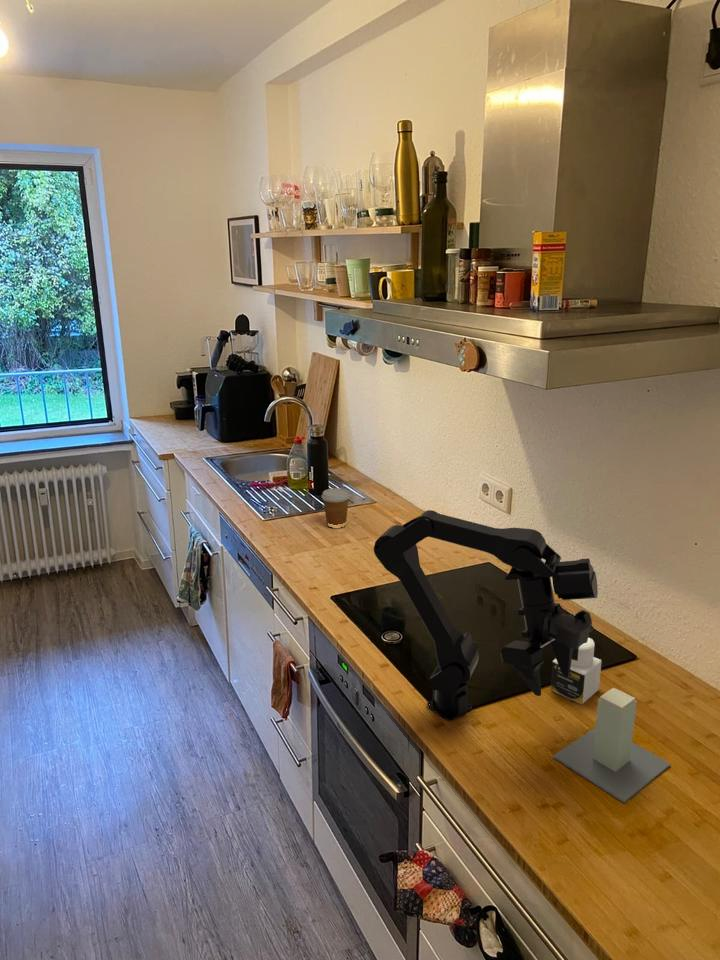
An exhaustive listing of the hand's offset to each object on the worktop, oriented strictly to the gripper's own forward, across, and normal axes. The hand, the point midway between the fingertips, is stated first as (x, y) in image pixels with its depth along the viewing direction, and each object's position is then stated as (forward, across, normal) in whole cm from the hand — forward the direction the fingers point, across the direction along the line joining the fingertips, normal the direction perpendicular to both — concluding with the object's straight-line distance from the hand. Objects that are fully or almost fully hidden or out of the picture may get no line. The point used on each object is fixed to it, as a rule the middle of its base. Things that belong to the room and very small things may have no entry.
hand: (552, 685), depth 124 cm
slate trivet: (+14, +3, -7) cm, 16 cm away
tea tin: (+14, +3, -7) cm, 16 cm away
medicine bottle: (+10, +18, +8) cm, 21 cm away
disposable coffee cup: (-21, +46, +110) cm, 121 cm away
